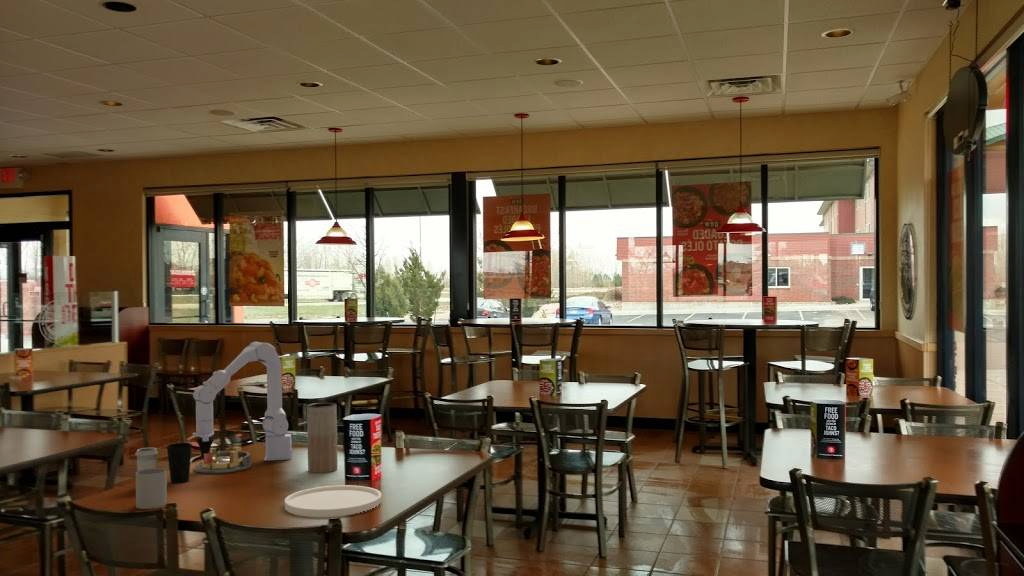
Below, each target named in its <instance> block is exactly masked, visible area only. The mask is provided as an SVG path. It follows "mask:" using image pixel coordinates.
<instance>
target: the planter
mask: <svg viewBox="0 0 1024 576" xmlns="http://www.w3.org/2000/svg"><path fill="white" fill-rule="evenodd" d="M337 405H338V404H336V403H334V402H317V403H310V404H308V405H306V410H307V411H306V415H307V416H306V417H307V418H306V421H307V422H306V423H307V430H306V431H307V469H308V472H310V473H314V474H315V473H316V474H325V473H331V472H335V471H336V470H337V469H338V416H337V413H338V411H337V410H338V409H337Z"/></svg>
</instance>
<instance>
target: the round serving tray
mask: <svg viewBox="0 0 1024 576" xmlns="http://www.w3.org/2000/svg"><path fill="white" fill-rule="evenodd" d="M232 451H233V450H222V451H216V452H217V457H219V456H230V453H229V452H232ZM251 456H252V455H251V454H250V452H248V451H242V450H241V457H243V465H242V466H238V467H233V468H227V469H206V468H201V467H200V463H198V464H196V465H195V466H194V472H196V473H198V474H205V475H220V474H231V473H237V472H241V471H245V470H248V469H250V468H251V467H252V461H251V460H252V457H251ZM202 460H204V459H202V458H201V461H202ZM225 462H230V457H223V458H216V459H213V463H225Z"/></svg>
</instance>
